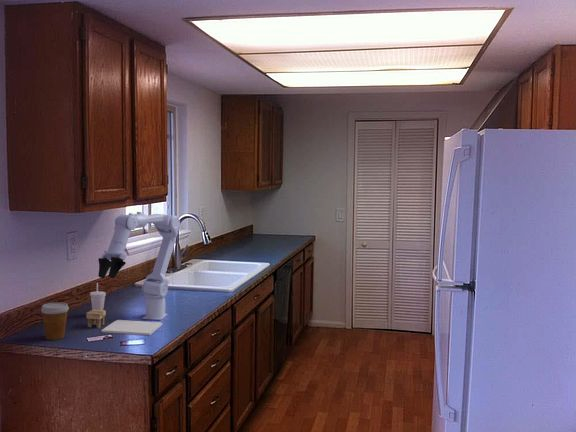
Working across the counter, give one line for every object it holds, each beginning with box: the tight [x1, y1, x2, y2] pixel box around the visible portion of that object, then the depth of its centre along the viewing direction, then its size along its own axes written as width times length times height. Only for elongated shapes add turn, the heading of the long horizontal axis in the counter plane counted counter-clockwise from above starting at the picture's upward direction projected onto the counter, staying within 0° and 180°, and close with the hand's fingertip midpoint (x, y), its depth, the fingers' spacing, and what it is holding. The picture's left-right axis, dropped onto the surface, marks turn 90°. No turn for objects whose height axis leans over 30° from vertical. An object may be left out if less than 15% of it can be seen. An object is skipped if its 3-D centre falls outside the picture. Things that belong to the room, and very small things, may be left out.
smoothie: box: [89, 282, 107, 310], centre depth 236 cm, size 6×6×14 cm
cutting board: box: [101, 319, 163, 336], centre depth 219 cm, size 15×19×1 cm
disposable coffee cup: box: [40, 302, 70, 341], centre depth 204 cm, size 10×10×12 cm
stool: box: [86, 309, 107, 329], centre depth 220 cm, size 5×5×6 cm
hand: (106, 277), depth 209 cm, fingers open, 7 cm apart
